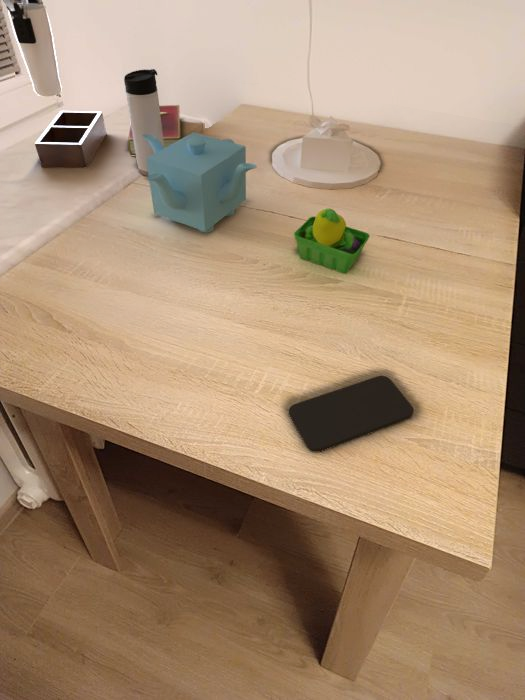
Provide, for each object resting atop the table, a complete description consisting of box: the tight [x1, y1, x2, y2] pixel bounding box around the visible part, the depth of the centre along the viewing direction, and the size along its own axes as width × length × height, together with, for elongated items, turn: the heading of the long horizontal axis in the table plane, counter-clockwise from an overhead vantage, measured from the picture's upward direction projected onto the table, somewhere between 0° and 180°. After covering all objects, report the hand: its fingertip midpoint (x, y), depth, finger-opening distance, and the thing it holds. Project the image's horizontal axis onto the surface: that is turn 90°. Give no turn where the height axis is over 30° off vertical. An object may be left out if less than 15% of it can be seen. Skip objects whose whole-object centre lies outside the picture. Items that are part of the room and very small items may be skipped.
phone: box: [288, 375, 415, 452], centre depth 64 cm, size 7×1×15 cm
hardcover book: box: [127, 104, 182, 156], centre depth 123 cm, size 12×21×4 cm, turn 7°
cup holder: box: [34, 110, 107, 169], centre depth 117 cm, size 10×19×5 cm, turn 0°
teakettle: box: [142, 131, 258, 233], centre depth 93 cm, size 19×19×15 cm
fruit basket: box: [293, 208, 370, 275], centre depth 84 cm, size 11×9×11 cm
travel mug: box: [123, 68, 164, 177], centre depth 105 cm, size 6×7×20 cm
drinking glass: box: [7, 3, 63, 98], centre depth 98 cm, size 7×7×15 cm
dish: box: [271, 115, 382, 190], centre depth 112 cm, size 25×25×11 cm
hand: (34, 36), depth 96 cm, fingers closed on drinking glass, 6 cm apart
